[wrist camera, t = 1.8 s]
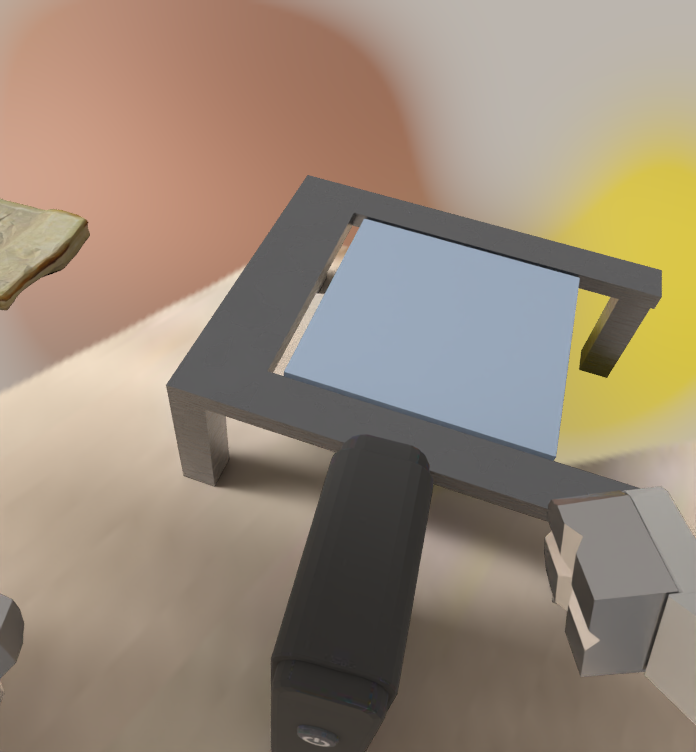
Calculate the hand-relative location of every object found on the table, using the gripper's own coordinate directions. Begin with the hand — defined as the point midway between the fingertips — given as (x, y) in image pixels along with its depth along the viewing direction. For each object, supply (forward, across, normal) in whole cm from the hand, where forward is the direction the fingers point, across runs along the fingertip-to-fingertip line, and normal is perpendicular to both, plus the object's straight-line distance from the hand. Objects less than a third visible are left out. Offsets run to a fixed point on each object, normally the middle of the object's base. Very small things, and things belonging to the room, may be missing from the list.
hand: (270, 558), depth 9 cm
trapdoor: (+25, -6, +14) cm, 29 cm away
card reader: (+10, +2, +24) cm, 26 cm away
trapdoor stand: (+26, -4, +21) cm, 34 cm away
